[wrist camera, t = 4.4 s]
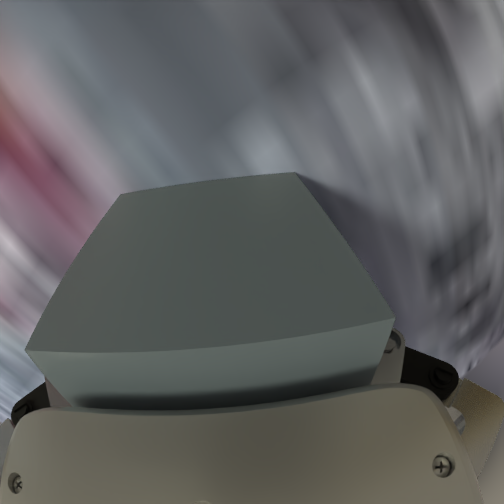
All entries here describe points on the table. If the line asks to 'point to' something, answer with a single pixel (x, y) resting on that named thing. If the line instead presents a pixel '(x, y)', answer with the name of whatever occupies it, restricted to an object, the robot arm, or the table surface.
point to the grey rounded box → (212, 302)
